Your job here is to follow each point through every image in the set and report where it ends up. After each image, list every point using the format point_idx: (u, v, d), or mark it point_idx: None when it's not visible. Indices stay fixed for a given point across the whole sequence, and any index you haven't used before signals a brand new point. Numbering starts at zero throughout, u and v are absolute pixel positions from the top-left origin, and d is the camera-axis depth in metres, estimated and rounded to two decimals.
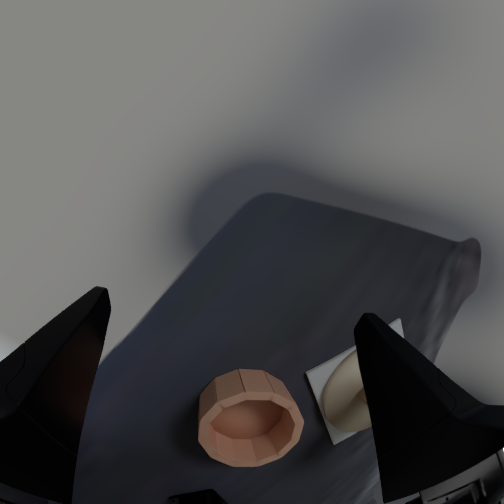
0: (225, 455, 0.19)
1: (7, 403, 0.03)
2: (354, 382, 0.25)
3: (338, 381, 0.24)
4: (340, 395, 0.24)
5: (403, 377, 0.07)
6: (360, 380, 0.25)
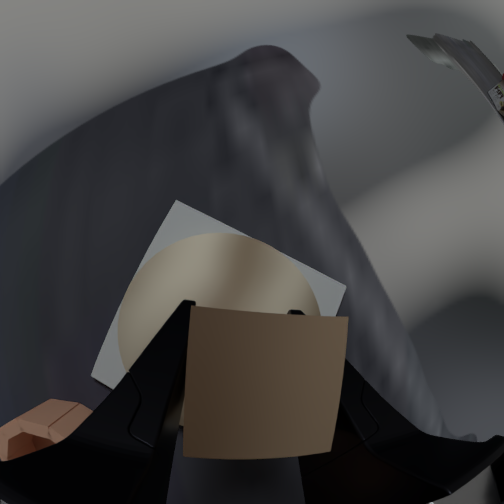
0: None
1: (139, 449, 0.03)
2: None
3: (134, 361, 0.13)
4: None
5: None
6: None
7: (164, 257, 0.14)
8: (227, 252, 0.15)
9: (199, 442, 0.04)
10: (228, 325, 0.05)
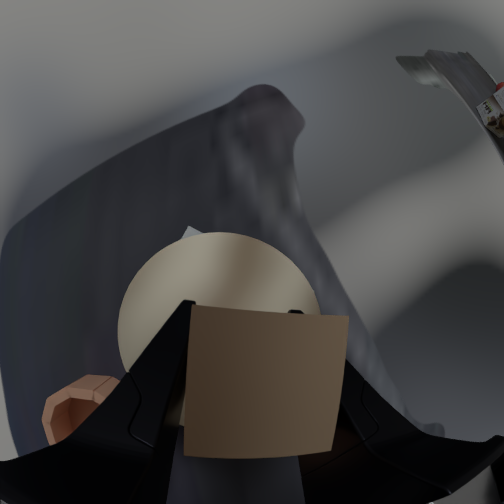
0: None
1: (139, 449, 0.03)
2: None
3: (134, 361, 0.13)
4: None
5: None
6: None
7: (164, 257, 0.14)
8: (227, 252, 0.15)
9: (199, 441, 0.04)
10: (229, 324, 0.05)
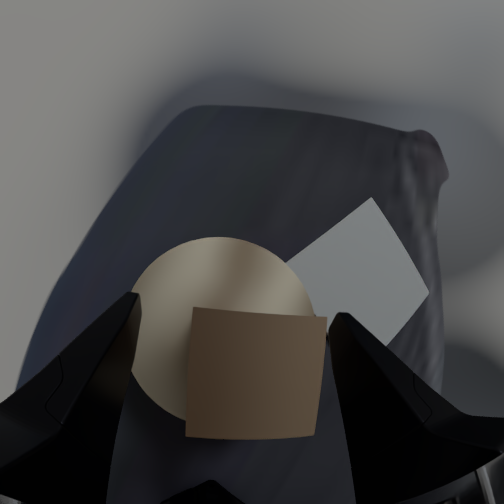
0: None
1: (50, 422, 0.03)
2: (168, 344, 0.14)
3: (138, 358, 0.14)
4: (165, 377, 0.14)
5: (375, 382, 0.06)
6: (177, 335, 0.15)
7: (166, 261, 0.15)
8: (225, 255, 0.16)
9: (199, 423, 0.05)
10: (224, 322, 0.06)
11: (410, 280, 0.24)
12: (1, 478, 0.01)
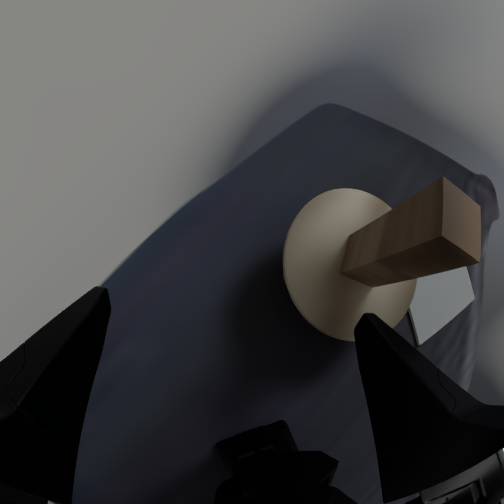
0: None
1: (7, 403, 0.03)
2: (323, 256, 0.19)
3: (295, 262, 0.18)
4: (314, 283, 0.18)
5: (403, 377, 0.07)
6: (331, 251, 0.19)
7: (332, 195, 0.20)
8: (371, 206, 0.20)
9: (446, 230, 0.09)
10: (452, 188, 0.09)
11: (464, 283, 0.26)
12: None
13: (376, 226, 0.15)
